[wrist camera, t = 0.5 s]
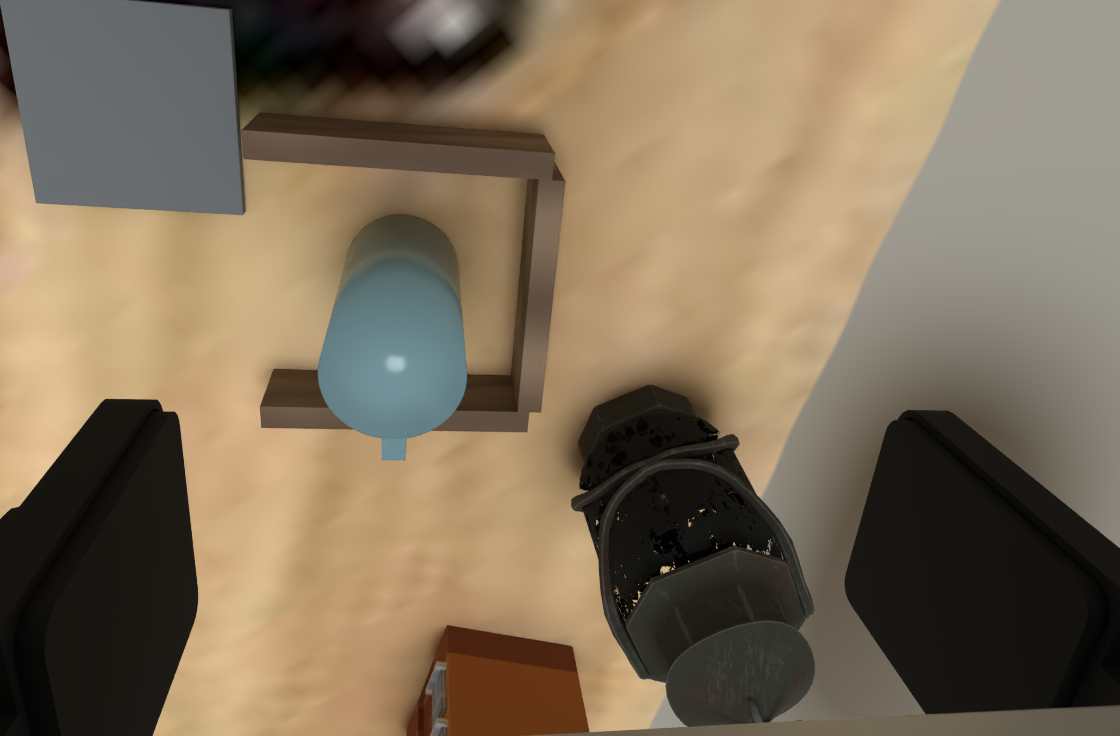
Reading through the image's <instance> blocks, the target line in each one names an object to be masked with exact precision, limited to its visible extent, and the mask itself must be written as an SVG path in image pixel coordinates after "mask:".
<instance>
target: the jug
mask: <svg viewBox="0 0 1120 736" xmlns="http://www.w3.org/2000/svg"><path fill="white" fill-rule="evenodd" d="M318 381H319V386H320V390H321V393H322V396H323V398H324V400H325V402H326V403H327V405H328V407H329V408H330V409H331V411H332V412H333V413H334V414H335V415H336V416H337V417H338V418H339V419H340V420H341V421H342V422H344V423H345V424H346V425H348V426H349V427H351V428H353V429H354V430H356V431H358V432H361V433H363V434H366V435H369V436H372V437H377V438H382V460H406V440H407V438H411V437H415V436H419V435H422V434H424V433H427V432H429V431H431V430H433V429H435V428H436V427H438V426H439V425H441V424H442V423H444V422H445V421H446V420H447V419H448V418H449V417H450V416H451V415H452V414H453V412H454V411H455V410H456V408H457V407H458V405H459V404H460V402H461V400H462V397H463V395H464V392H465V388H466V382H467V367H466V355H465V343H464V331H463V319H462V307H461V295H460V283H459V271H458V261H457V256H456V253H455V250H454V248H453V246H452V244H451V242H450V241H449V239H448V238H447V237H446V235H445V234H444V233H443V232H442V231H441V230H440V229H439V228H437V227H436V226H435V225H433V224H432V223H430V222H428V221H426V220H424V219H421V218H418V217H414V216H409V215H391V216H386V217H383V218H380V219H377V220H375V221H373V222H371V223H370V224H368V225H367V226H366V227H364V228H363V229H362V230H361V231H360V232H359V233H358V234H357V236H356V237H355V238H354V240H353V242H352V244H351V246H350V248H349V251H348V255H347V258H346V262H345V266H344V270H343V273H342V277H341V281H340V285H339V288H338V292H337V296H336V300H335V303H334V307H333V311H332V314H331V318H330V322H329V326H328V329H327V333H326V337H325V341H324V344H323V348H322V352H321V356H320V360H319V365H318Z"/></svg>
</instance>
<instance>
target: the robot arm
mask: <svg viewBox="0 0 1120 736" xmlns="http://www.w3.org/2000/svg"><path fill="white" fill-rule="evenodd" d="M845 591H846V595H847V598H848V600H849V602H850V604H851V605H852V607H853V609H854V610H855V612H856V613H857V614H858V616H859V617H860V619H861V620H862V622H863V623H864V625H865V626H866V628H867V629H868V630H869V632H870V633H871V635H872V636H873V638H874V639H875V641H876V642H877V644H878V645H879V647H880V648H881V649H882V651H883V652H884V654H885V655H886V657H887V658H888V660H889V661H890V663H891V664H892V666H893V667H894V668H895V670H896V671H897V673H898V674H899V676H900V677H901V678H902V680H903V682H904V683H905V685H906V686H907V687H908V689H909V690H910V692H911V693H912V695H913V696H914V698H915V699H916V701H917V702H918V703H919V705H920V706H921V708H922V709H923V711H924V712H925V714H923V715H904V716H885V717H864V718H847V719H846V718H845V719H827V720H807V721H787V722H768V723H749V724H731V725H713V726H695V727H677V728H659V729H641V730H623V731H605V732H587V733H568V734H549V735H531V736H1120V548H1119V547H1117V546H1116V545H1115V544H1114V543H1113V542H1111V541H1110V540H1109V539H1107V538H1106V537H1105V536H1104V535H1103V534H1101V533H1100V532H1099V531H1098V530H1097V529H1095V528H1094V527H1093V526H1092V525H1090V524H1089V523H1088V522H1087V521H1085V520H1084V519H1083V518H1082V517H1080V516H1079V515H1078V514H1077V513H1076V512H1074V511H1073V510H1072V509H1071V508H1069V507H1068V506H1067V505H1066V504H1064V503H1063V502H1062V501H1061V500H1059V499H1058V498H1057V497H1056V496H1055V495H1053V494H1052V493H1051V492H1050V491H1048V490H1047V489H1046V488H1045V487H1043V486H1042V485H1041V484H1040V483H1039V482H1037V481H1036V480H1035V479H1034V478H1032V477H1031V476H1030V475H1028V474H1027V473H1026V472H1025V471H1024V470H1023V469H1021V468H1020V467H1019V466H1018V465H1016V464H1015V463H1014V462H1013V461H1011V460H1010V459H1009V458H1008V457H1006V456H1005V455H1004V454H1003V453H1002V452H1000V451H999V450H998V449H997V448H995V447H994V446H993V445H992V444H990V443H989V442H988V441H987V440H985V439H984V438H983V437H982V436H981V435H979V434H978V433H977V432H976V431H974V430H973V429H972V428H971V427H969V426H968V425H967V424H966V423H964V422H963V421H962V420H961V419H960V418H958V417H957V416H956V415H955V414H953V413H951V412H949V411H933V410H932V411H931V410H930V411H929V410H927V411H926V410H907V411H905V412H903V413H902V414H901V416H900V417H899V418H898V420H894V421H892V422H891V423H890V424H889V425H888V427H887V430H886V433H885V436H884V440H883V443H882V447H881V451H880V454H879V457H878V461H877V464H876V468H875V472H874V476H873V479H872V482H871V486H870V489H869V493H868V497H867V501H866V504H865V507H864V511H863V515H862V518H861V522H860V526H859V529H858V532H857V536H856V539H855V543H854V546H853V550H852V554H851V557H850V561H849V564H848V568H847V571H846V576H845ZM197 606H198V586H197V577H196V567H195V558H194V549H193V540H192V531H191V522H190V513H189V504H188V495H187V486H186V477H185V468H184V459H183V450H182V440H181V431H180V423H179V418H178V416H177V414H176V412H163V409H162V406H161V404H160V402H159V401H158V400H141V399H105V400H104V401H103V402H101V404H100V405H99V406H98V407H97V409H96V410H95V411H94V412H93V414H92V415H91V416H90V418H89V419H88V420H87V421H86V423H85V424H84V425H83V426H82V428H81V429H80V430H79V432H78V433H77V434H76V435H75V437H74V438H73V439H72V440H71V442H70V443H69V444H68V445H67V447H66V448H65V449H64V451H63V452H62V453H61V454H60V456H59V457H58V458H57V459H56V461H55V462H54V463H53V465H52V466H51V467H50V468H49V470H48V471H47V472H46V473H45V475H44V476H43V477H42V479H41V480H40V481H39V482H38V484H37V485H36V486H35V487H34V489H33V490H32V491H31V493H30V494H29V495H28V496H27V498H26V499H25V500H24V501H23V503H22V504H21V505H20V506H19V507H16V508H12V509H10V510H9V511H8V512H7V513H6V514H5V515H4V516H3V517H2V518H1V519H0V736H153V733H154V730H155V727H156V725H157V722H158V719H159V717H160V714H161V711H162V708H163V706H164V703H165V700H166V698H167V695H168V692H169V689H170V687H171V684H172V681H173V679H174V676H175V673H176V670H177V668H178V665H179V662H180V659H181V657H182V654H183V651H184V649H185V646H186V643H187V640H188V638H189V635H190V632H191V630H192V627H193V624H194V621H195V618H196V613H197Z"/></svg>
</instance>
